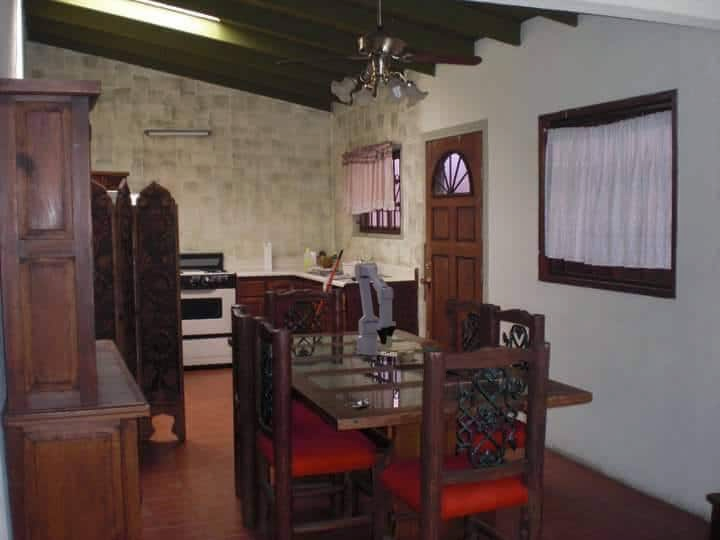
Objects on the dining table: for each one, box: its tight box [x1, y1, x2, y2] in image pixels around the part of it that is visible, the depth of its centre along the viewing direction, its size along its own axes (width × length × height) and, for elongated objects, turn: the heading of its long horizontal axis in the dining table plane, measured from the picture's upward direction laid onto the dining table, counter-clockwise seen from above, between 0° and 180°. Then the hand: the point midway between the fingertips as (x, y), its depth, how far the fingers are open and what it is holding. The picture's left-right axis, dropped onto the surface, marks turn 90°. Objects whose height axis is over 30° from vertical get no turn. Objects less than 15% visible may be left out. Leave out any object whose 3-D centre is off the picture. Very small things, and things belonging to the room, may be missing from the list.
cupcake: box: [419, 331, 439, 352], centre depth 374 cm, size 9×8×12 cm
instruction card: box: [376, 351, 398, 358], centre depth 375 cm, size 12×9×1 cm
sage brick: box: [379, 336, 393, 349], centre depth 358 cm, size 4×4×5 cm
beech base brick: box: [396, 349, 415, 362], centre depth 363 cm, size 6×6×4 cm
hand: (386, 343), depth 358 cm, fingers closed on sage brick, 4 cm apart
